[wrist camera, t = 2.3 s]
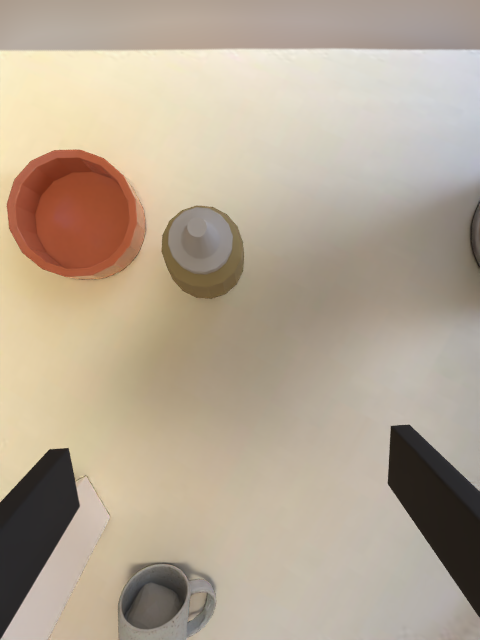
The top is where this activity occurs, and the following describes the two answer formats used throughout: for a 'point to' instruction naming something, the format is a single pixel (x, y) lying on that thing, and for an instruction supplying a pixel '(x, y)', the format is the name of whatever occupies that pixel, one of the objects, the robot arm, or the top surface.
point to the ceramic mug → (162, 605)
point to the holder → (76, 215)
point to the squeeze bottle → (203, 251)
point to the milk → (61, 569)
